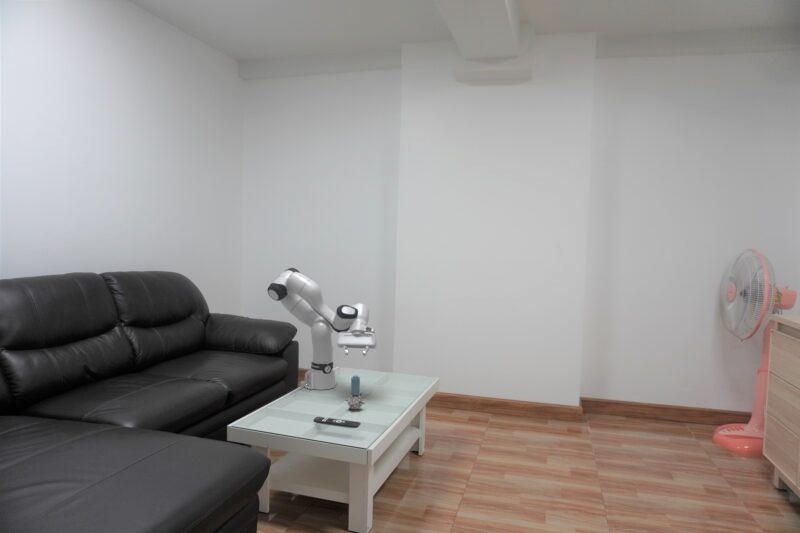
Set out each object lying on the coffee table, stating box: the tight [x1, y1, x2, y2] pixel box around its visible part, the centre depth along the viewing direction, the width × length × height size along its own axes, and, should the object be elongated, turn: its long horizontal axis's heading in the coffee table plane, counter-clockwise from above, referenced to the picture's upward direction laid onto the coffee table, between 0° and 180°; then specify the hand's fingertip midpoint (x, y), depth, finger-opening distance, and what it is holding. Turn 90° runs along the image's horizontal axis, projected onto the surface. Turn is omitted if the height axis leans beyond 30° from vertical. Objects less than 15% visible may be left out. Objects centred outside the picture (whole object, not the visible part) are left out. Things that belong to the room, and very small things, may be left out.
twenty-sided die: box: [345, 393, 366, 412], centre depth 269 cm, size 9×8×10 cm
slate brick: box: [350, 375, 361, 396], centre depth 268 cm, size 4×4×9 cm
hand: (355, 354), depth 280 cm, fingers open, 8 cm apart
